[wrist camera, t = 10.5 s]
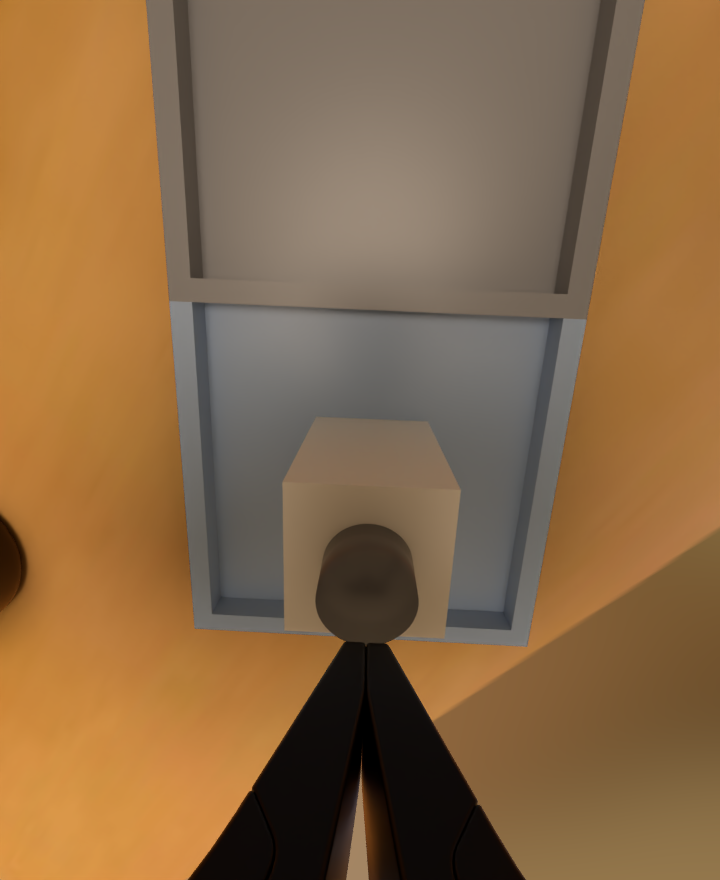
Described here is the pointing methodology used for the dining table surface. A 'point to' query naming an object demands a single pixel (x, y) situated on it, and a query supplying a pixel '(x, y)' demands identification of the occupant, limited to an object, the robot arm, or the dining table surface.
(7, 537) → the supplement bottle
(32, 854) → the dining table surface
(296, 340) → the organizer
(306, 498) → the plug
